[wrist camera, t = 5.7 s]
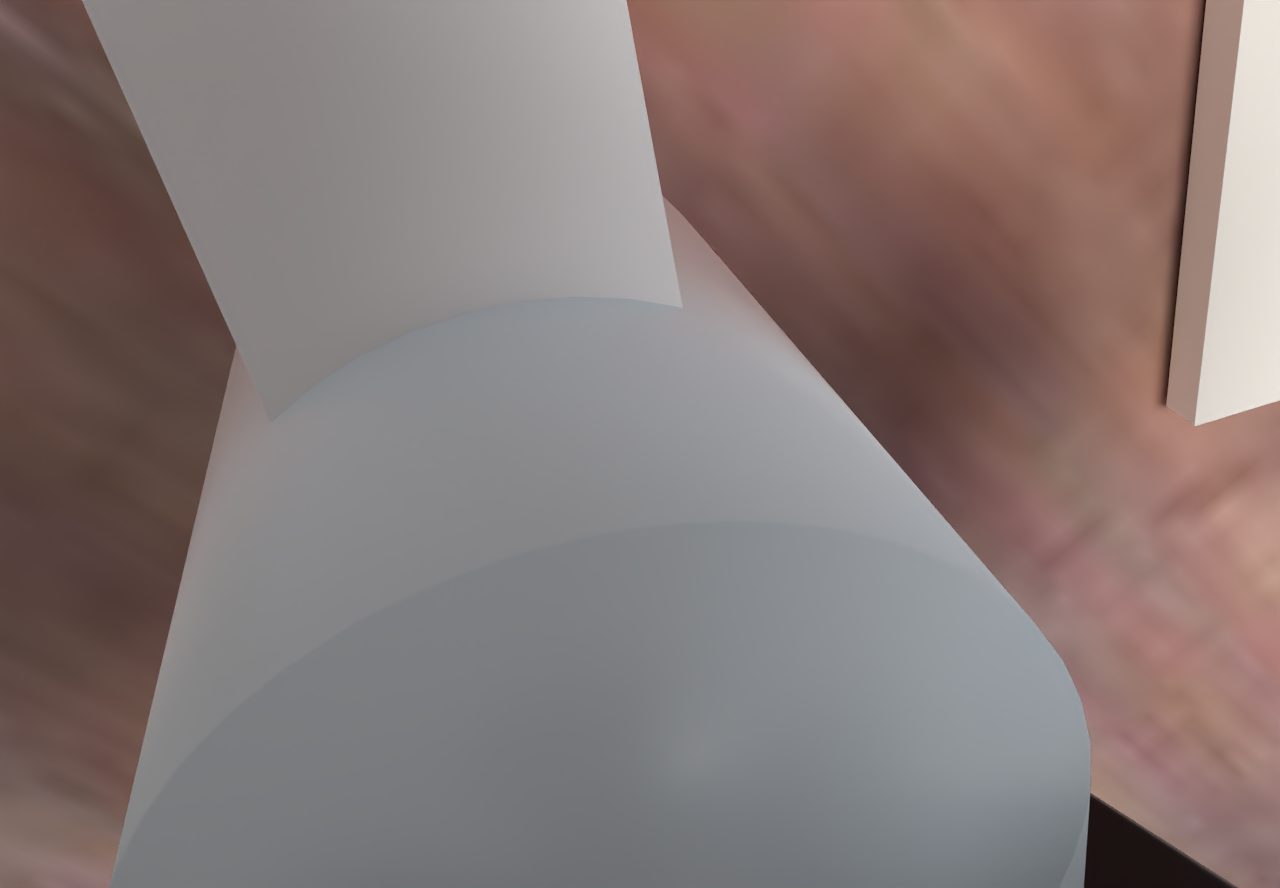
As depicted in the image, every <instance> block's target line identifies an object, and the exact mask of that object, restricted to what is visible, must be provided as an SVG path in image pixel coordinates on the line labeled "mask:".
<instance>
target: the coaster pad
mask: <svg viewBox="0 0 1280 888" xmlns="http://www.w3.org/2000/svg"><path fill="white" fill-rule="evenodd" d="M1279 400H1280V0H1206V8H1205V18H1204V28H1203V38H1202V49H1201V59H1200V69H1199V79H1198V89H1197V99H1196V109H1195V120H1194V130H1193V140H1192V150H1191V160H1190V170H1189V180H1188V191H1187V201H1186V211H1185V221H1184V231H1183V241H1182V251H1181V261H1180V272H1179V282H1178V292H1177V302H1176V312H1175V322H1174V332H1173V343H1172V353H1171V363H1170V373H1169V383H1168V393H1167V403H1166V407H1167V408H1169V409H1170V410H1172V411H1173V412H1175V413H1176V414H1177V415H1179V416H1180V417H1182V418H1183V419H1185V420H1186V421H1187V422H1189V423H1190V424H1192V425H1193V426H1197V425H1201V424H1204V423H1207V422H1210V421H1214V420H1217V419H1220V418H1223V417H1227V416H1230V415H1233V414H1237V413H1240V412H1243V411H1246V410H1250V409H1253V408H1256V407H1259V406H1263V405H1266V404H1269V403H1272V402H1276V401H1279Z"/></svg>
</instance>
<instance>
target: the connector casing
mask: <svg viewBox="0 0 1280 888" xmlns="http://www.w3.org/2000/svg"><path fill="white" fill-rule="evenodd" d="M82 2H83V4H84V7H85V9H86V11H87V13H88V16H89V18H90V20H91V22H92V24H93V27H94V29H95V31H96V33H97V36H98V38H99V40H100V42H101V45H102V47H103V49H104V51H105V53H106V56H107V58H108V60H109V62H110V65H111V67H112V69H113V71H114V74H115V76H116V78H117V80H118V83H119V85H120V87H121V89H122V91H123V94H124V96H125V98H126V100H127V103H128V105H129V107H130V109H131V112H132V114H133V116H134V118H135V120H136V123H137V125H138V127H139V129H140V132H141V134H142V136H143V138H144V141H145V143H146V145H147V147H148V150H149V152H150V154H151V156H152V158H153V161H154V163H155V165H156V167H157V170H158V172H159V174H160V176H161V179H162V181H163V183H164V185H165V188H166V190H167V192H168V194H169V196H170V199H171V201H172V203H173V205H174V208H175V210H176V212H177V214H178V217H179V219H180V221H181V223H182V225H183V228H184V230H185V232H186V234H187V237H188V239H189V241H190V243H191V246H192V248H193V250H194V252H195V255H196V257H197V259H198V261H199V263H200V266H201V268H202V270H203V272H204V275H205V277H206V279H207V281H208V284H209V286H210V288H211V290H212V292H213V295H214V297H215V299H216V301H217V304H218V306H219V308H220V310H221V313H222V315H223V317H224V319H225V322H226V324H227V326H228V328H229V330H230V333H231V335H232V337H233V339H234V342H235V344H236V348H235V353H234V357H233V361H232V365H231V370H230V374H229V378H228V382H227V387H226V391H225V395H224V400H223V404H222V408H221V412H220V417H219V421H218V425H217V429H216V434H215V438H214V442H213V446H212V451H211V455H210V459H209V464H208V468H207V472H206V476H205V481H204V485H203V489H202V493H201V498H200V502H199V506H198V510H197V515H196V519H195V523H194V527H193V532H192V536H191V540H190V545H189V549H188V553H187V557H186V562H185V566H184V570H183V574H182V579H181V583H180V587H179V591H178V596H177V600H176V604H175V609H174V613H173V617H172V621H171V626H170V630H169V634H168V638H167V643H166V647H165V651H164V655H163V660H162V664H161V668H160V672H159V677H158V681H157V685H156V690H155V694H154V698H153V702H152V707H151V711H150V715H149V719H148V724H147V728H146V732H145V736H144V741H143V745H142V749H141V754H140V758H139V762H138V766H137V771H136V775H135V779H134V783H133V788H132V792H131V796H130V800H129V805H128V809H127V813H126V817H125V822H124V826H123V830H122V835H121V839H120V843H119V847H118V852H117V856H116V860H115V864H114V869H113V873H112V877H111V881H110V886H109V888H1084V877H1085V862H1086V847H1087V833H1088V818H1089V803H1090V788H1091V757H1090V737H1089V733H1088V728H1087V724H1086V719H1085V715H1084V710H1083V706H1082V701H1081V699H1080V696H1079V694H1078V692H1077V690H1076V688H1075V685H1074V683H1073V681H1072V679H1071V677H1070V674H1069V672H1068V670H1067V668H1066V666H1065V664H1064V662H1063V660H1062V659H1061V658H1060V656H1059V655H1058V653H1057V652H1056V651H1055V649H1054V648H1053V647H1052V645H1051V644H1050V643H1049V641H1048V640H1047V639H1046V637H1045V636H1044V635H1043V633H1042V632H1041V631H1040V629H1039V628H1038V627H1037V625H1036V624H1035V623H1034V622H1033V621H1032V620H1031V618H1030V617H1029V616H1028V615H1027V614H1026V613H1025V611H1024V610H1023V609H1022V608H1021V607H1020V606H1019V604H1018V603H1017V602H1016V601H1015V600H1014V599H1013V597H1012V596H1011V595H1010V594H1009V593H1008V592H1007V591H1006V589H1005V588H1004V587H1003V586H1002V585H1001V584H1000V582H999V581H998V580H997V579H996V578H995V577H994V575H993V574H992V573H991V572H990V571H989V570H988V568H987V567H986V566H985V565H984V564H983V563H982V562H981V560H980V559H979V558H978V557H977V556H976V555H975V553H974V552H973V551H972V550H971V549H970V548H969V546H968V545H967V544H966V543H965V542H964V541H963V539H962V538H961V537H960V536H959V535H958V534H957V533H956V531H955V530H954V529H953V528H952V527H951V526H950V524H949V523H948V522H947V521H946V520H945V519H944V517H943V516H942V515H941V514H940V513H939V512H938V511H937V509H936V508H935V507H934V506H933V505H932V504H931V502H930V501H929V500H928V499H927V498H926V497H925V495H924V494H923V493H922V492H921V491H920V490H919V488H918V487H917V486H916V485H915V484H914V483H913V482H912V480H911V479H910V478H909V477H908V476H907V475H906V473H905V472H904V471H903V470H902V469H901V468H900V466H899V465H898V464H897V463H896V462H895V461H894V459H893V458H892V457H891V456H890V455H889V454H888V453H887V451H886V450H885V449H884V448H883V447H882V446H881V444H880V443H879V442H878V441H877V440H876V439H875V437H874V436H873V435H872V434H871V433H870V432H869V430H868V429H867V428H866V427H865V426H864V425H863V424H862V422H861V421H860V420H859V419H858V418H857V417H856V415H855V414H854V413H853V412H852V411H851V410H850V408H849V407H848V406H847V405H846V404H845V403H844V401H843V400H842V399H841V398H840V397H839V396H838V395H837V393H836V392H835V391H834V390H833V389H832V388H831V386H830V385H829V384H828V383H827V382H826V381H825V379H824V378H823V377H822V376H821V375H820V374H819V373H818V371H817V370H816V369H815V368H814V367H813V366H812V364H811V363H810V362H809V361H808V360H807V359H806V357H805V356H804V355H803V354H802V353H801V352H800V350H799V349H798V348H797V347H796V346H795V345H794V344H793V342H792V341H791V340H790V339H789V338H788V337H787V335H786V334H785V333H784V332H783V331H782V330H781V328H780V327H779V326H778V325H777V324H776V323H775V321H774V320H773V319H772V318H771V317H770V316H769V315H768V313H767V312H766V311H765V310H764V309H763V308H762V306H761V305H760V304H759V303H758V302H757V301H756V299H755V298H754V297H753V296H752V295H751V294H750V292H749V291H748V290H747V289H746V288H745V287H744V286H743V284H742V283H741V282H740V281H739V280H738V279H737V277H736V276H735V275H734V274H733V273H732V272H731V270H730V269H729V268H728V267H727V266H726V265H725V263H724V262H723V261H722V260H721V259H720V258H719V257H718V255H717V254H716V253H715V252H714V251H713V250H712V248H711V247H710V246H709V245H708V244H707V243H706V241H705V240H704V239H703V238H702V237H701V236H700V235H699V233H698V232H697V231H696V230H695V229H694V228H693V226H692V225H691V224H690V223H689V222H688V221H687V219H686V218H685V217H684V216H683V215H682V214H681V213H680V212H679V211H678V210H677V209H676V208H675V207H674V206H673V205H672V204H671V203H670V202H669V201H668V200H667V199H666V198H665V197H663V196H662V192H661V187H660V181H659V176H658V170H657V165H656V159H655V154H654V148H653V143H652V138H651V132H650V127H649V121H648V116H647V110H646V105H645V99H644V94H643V89H642V83H641V78H640V72H639V67H638V61H637V56H636V50H635V45H634V40H633V34H632V29H631V23H630V18H629V12H628V7H627V1H626V0H82Z"/></svg>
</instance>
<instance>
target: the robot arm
mask: <svg viewBox="0 0 1280 888" xmlns="http://www.w3.org/2000/svg"><path fill="white" fill-rule="evenodd" d="M1084 888H1238V887H1236V886H1234V885H1233V884H1231V883H1230V882H1228V881H1227V880H1225V879H1224V878H1222V877H1220V876H1219V875H1217V874H1216V873H1214V872H1213V871H1211V870H1209V869H1208V868H1206V867H1205V866H1203V865H1202V864H1200V863H1199V862H1197V861H1195V860H1194V859H1192V858H1191V857H1189V856H1188V855H1186V854H1185V853H1183V852H1181V851H1180V850H1178V849H1177V848H1175V847H1174V846H1172V845H1171V844H1169V843H1167V842H1166V841H1164V840H1163V839H1161V838H1160V837H1158V836H1157V835H1155V834H1153V833H1152V832H1150V831H1149V830H1147V829H1146V828H1144V827H1142V826H1141V825H1139V824H1138V823H1136V822H1135V821H1133V820H1132V819H1130V818H1128V817H1127V816H1125V815H1124V814H1122V813H1121V812H1119V811H1118V810H1116V809H1114V808H1113V807H1111V806H1110V805H1108V804H1107V803H1105V802H1104V801H1102V800H1100V799H1099V798H1097V797H1096V796H1094V795H1093V794H1091V793H1090V803H1089V818H1088V833H1087V847H1086V862H1085V877H1084Z"/></svg>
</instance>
